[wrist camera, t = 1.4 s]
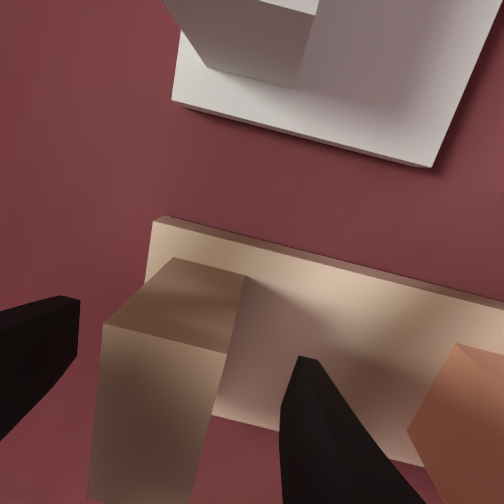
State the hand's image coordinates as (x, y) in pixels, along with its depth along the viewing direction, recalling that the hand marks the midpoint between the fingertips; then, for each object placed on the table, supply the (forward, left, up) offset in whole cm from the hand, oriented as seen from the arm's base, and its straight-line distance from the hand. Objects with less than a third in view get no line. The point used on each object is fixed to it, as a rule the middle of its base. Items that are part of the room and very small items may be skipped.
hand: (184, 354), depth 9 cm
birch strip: (-7, 0, -2) cm, 7 cm away
